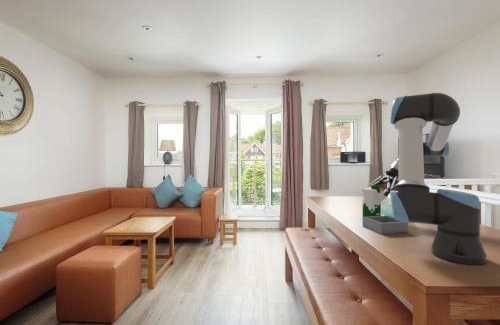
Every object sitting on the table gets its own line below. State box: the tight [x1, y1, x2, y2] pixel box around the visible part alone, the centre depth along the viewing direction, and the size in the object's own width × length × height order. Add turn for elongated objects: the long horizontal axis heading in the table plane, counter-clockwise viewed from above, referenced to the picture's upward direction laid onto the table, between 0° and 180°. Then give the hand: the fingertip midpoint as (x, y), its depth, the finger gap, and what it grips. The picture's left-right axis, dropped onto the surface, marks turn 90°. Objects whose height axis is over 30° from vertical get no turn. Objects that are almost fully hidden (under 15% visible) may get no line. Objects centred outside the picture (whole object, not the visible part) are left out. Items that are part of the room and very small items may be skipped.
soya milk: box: [361, 185, 383, 218], centre depth 144 cm, size 9×9×20 cm
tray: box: [362, 215, 409, 235], centre depth 125 cm, size 14×14×5 cm
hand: (372, 197), depth 144 cm, fingers open, 13 cm apart
